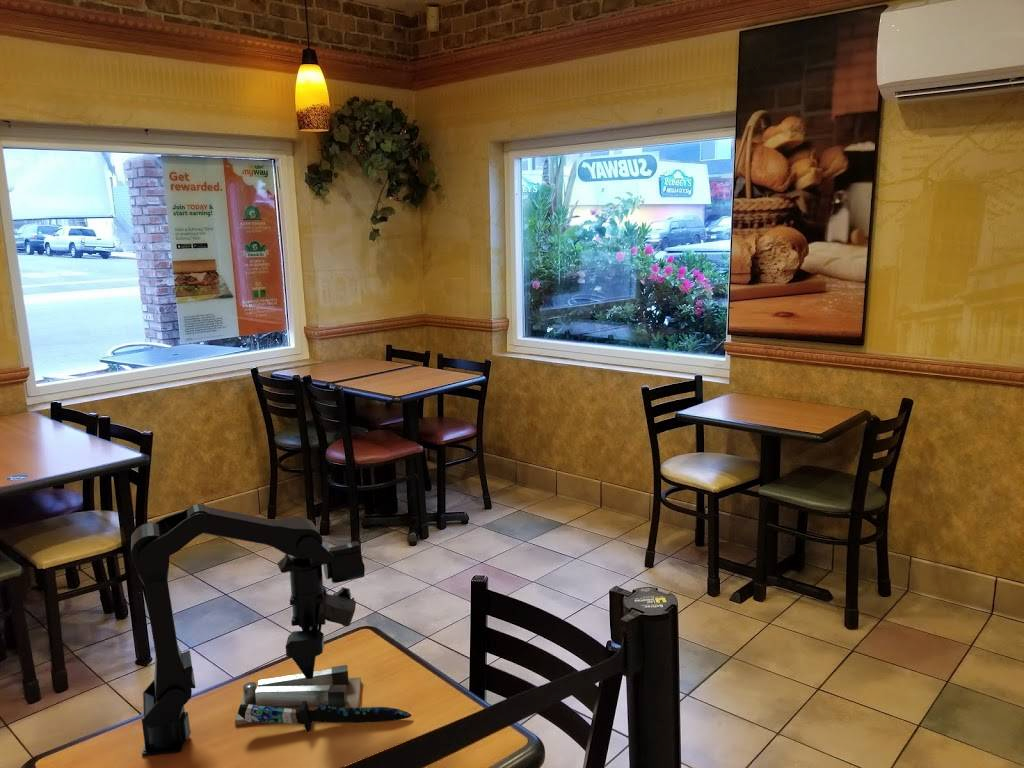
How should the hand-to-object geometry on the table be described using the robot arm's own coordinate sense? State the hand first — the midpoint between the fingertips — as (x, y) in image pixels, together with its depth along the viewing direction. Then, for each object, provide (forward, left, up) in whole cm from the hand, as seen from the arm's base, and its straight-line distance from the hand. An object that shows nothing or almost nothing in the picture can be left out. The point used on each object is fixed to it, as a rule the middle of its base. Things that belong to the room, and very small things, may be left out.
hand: (312, 664), depth 145 cm
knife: (+3, -8, -8) cm, 12 cm away
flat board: (-3, 0, -8) cm, 8 cm away
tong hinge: (-12, 0, -7) cm, 13 cm away
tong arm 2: (-2, +2, -7) cm, 7 cm away
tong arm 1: (-2, -2, -7) cm, 7 cm away
